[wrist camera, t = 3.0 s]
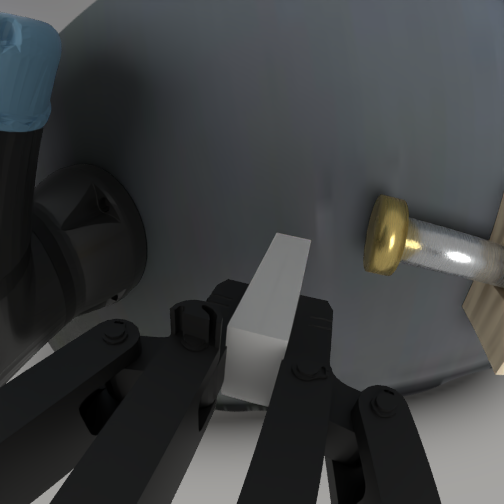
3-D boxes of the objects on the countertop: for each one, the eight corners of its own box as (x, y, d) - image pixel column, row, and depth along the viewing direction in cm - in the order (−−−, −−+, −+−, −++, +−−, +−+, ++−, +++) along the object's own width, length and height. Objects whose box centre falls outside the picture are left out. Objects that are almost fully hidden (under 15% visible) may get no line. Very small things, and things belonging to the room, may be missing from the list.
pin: (360, 252, 22) (367, 285, 17) (377, 187, 20) (390, 206, 15) (498, 285, 19) (523, 317, 15) (519, 231, 17) (551, 256, 13)
